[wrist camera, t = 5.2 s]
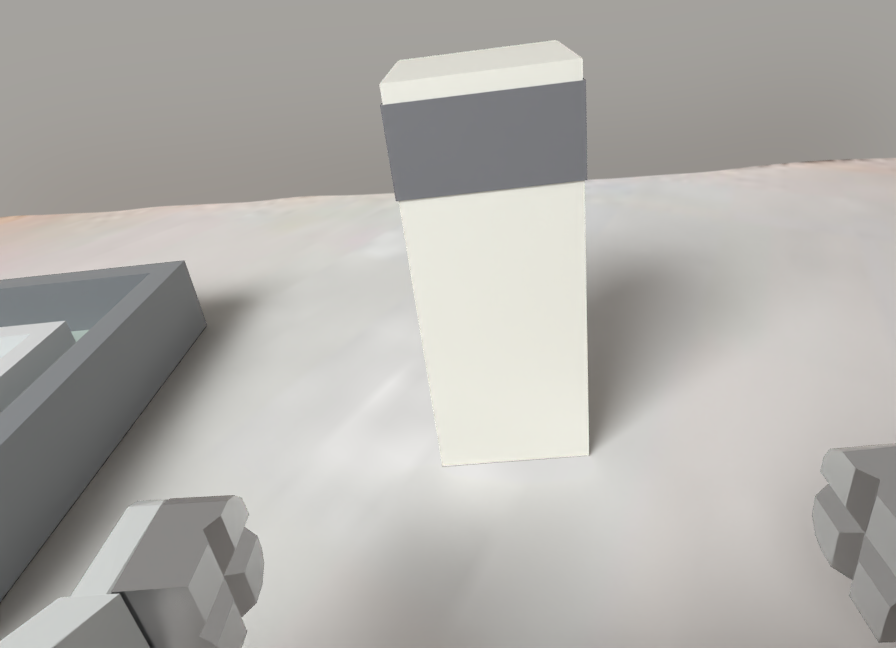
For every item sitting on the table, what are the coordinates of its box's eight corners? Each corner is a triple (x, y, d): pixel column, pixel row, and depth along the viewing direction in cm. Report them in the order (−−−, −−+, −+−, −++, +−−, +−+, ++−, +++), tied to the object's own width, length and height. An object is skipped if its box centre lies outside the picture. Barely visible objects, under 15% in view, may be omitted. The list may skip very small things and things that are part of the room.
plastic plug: (569, 372, 20) (558, 39, 16) (591, 456, 17) (585, 58, 12) (444, 383, 21) (396, 60, 16) (440, 467, 17) (376, 84, 12)
